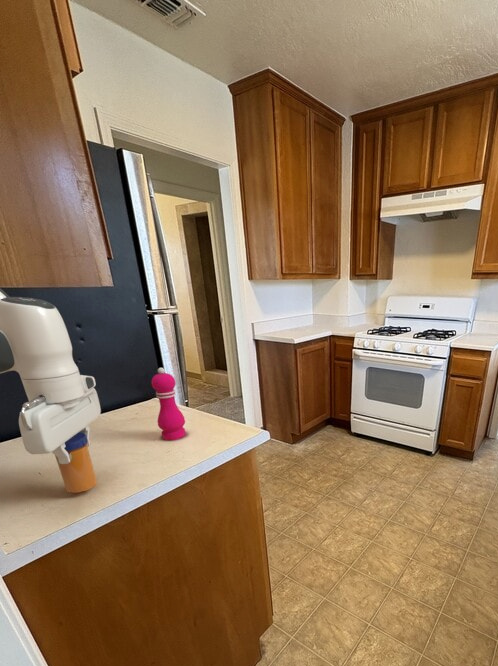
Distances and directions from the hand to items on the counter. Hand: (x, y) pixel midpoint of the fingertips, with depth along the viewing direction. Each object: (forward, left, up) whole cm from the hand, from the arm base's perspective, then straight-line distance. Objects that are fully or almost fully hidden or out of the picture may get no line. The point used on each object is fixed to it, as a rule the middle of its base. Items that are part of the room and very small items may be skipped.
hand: (76, 454), depth 72 cm
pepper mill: (+15, +26, -9) cm, 31 cm away
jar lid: (-1, 0, +3) cm, 3 cm away
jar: (-1, 0, -7) cm, 7 cm away
